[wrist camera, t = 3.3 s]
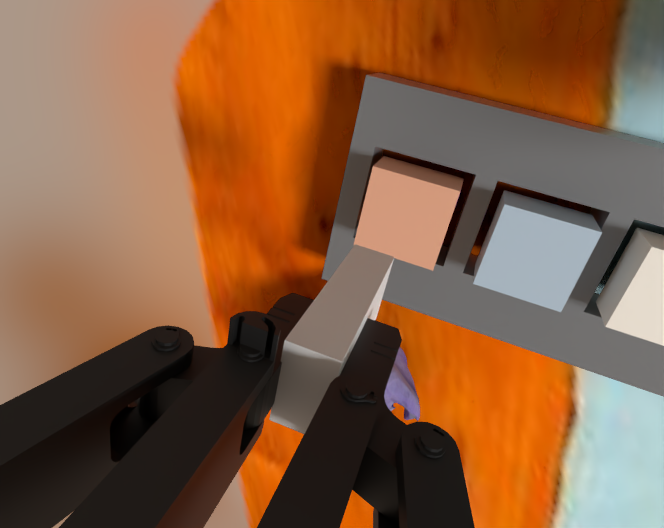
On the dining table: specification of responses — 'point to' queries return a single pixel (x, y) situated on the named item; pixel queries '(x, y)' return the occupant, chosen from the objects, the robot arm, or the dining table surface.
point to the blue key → (535, 250)
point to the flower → (402, 388)
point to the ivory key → (637, 289)
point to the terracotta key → (407, 211)
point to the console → (488, 168)
